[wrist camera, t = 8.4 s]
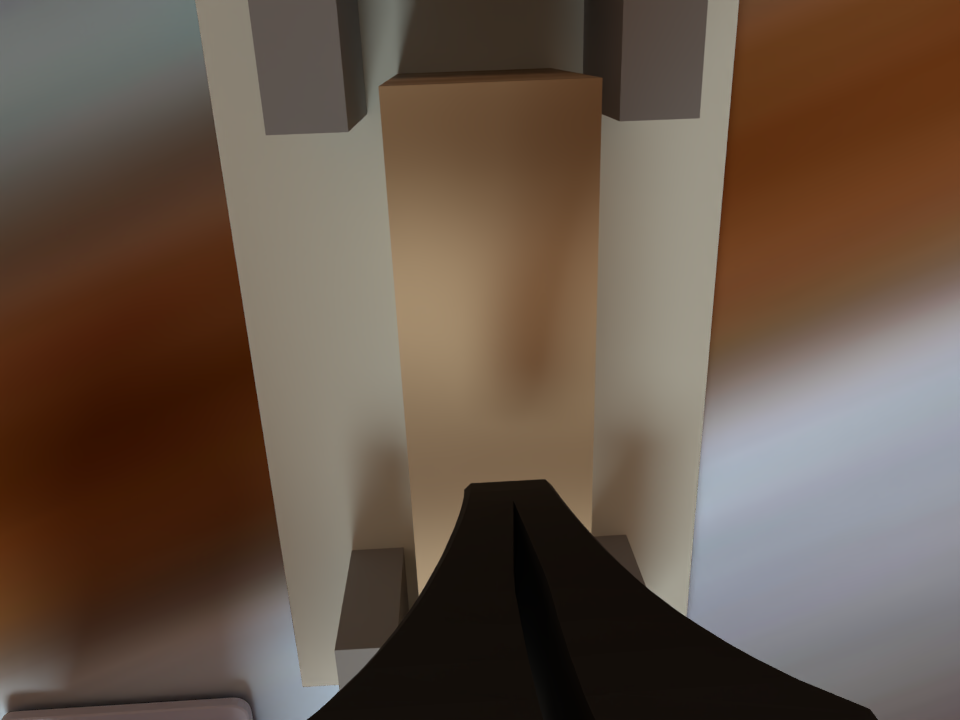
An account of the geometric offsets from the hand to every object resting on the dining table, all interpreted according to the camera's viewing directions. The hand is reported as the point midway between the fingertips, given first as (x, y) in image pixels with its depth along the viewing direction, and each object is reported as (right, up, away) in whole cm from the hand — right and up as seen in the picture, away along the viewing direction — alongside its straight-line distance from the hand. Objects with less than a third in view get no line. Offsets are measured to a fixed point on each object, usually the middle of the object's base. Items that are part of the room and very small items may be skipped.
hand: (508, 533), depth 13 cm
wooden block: (0, +3, +8) cm, 8 cm away
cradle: (0, +4, +8) cm, 9 cm away
